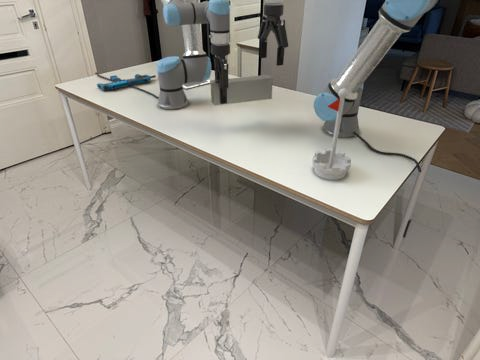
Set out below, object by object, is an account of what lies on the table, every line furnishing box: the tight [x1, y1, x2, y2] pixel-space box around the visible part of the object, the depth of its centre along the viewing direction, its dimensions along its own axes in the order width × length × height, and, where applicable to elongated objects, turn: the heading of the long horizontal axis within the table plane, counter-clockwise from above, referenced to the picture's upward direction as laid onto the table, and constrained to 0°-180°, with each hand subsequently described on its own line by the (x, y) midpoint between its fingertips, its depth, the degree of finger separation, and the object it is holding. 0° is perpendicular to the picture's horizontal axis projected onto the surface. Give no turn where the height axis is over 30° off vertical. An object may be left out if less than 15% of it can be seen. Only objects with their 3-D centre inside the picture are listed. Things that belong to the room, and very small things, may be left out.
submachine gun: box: [96, 73, 157, 92], centre depth 207 cm, size 34×4×25 cm
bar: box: [209, 74, 274, 106], centre depth 145 cm, size 26×5×9 cm, turn 108°
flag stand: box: [312, 88, 352, 181], centre depth 113 cm, size 13×13×30 cm
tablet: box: [183, 79, 211, 90], centre depth 213 cm, size 32×20×1 cm, turn 41°
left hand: (222, 101), depth 145 cm, fingers closed on bar, 5 cm apart
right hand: (271, 61), depth 141 cm, fingers open, 13 cm apart
